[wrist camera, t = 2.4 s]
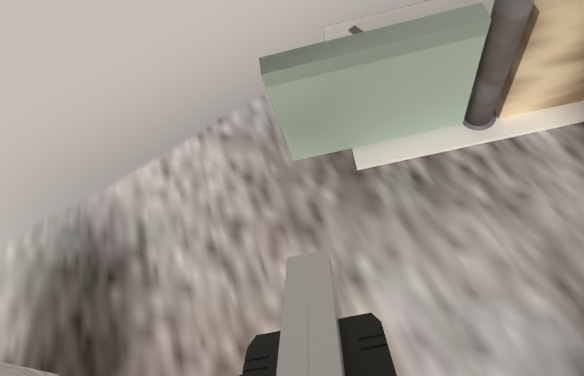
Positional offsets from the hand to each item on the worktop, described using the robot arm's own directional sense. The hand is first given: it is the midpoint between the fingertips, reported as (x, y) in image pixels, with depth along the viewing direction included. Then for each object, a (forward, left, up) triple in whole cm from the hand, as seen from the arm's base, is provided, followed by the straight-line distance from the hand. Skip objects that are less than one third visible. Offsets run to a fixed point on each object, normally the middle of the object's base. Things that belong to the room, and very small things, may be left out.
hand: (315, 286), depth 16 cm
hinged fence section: (-5, -13, -10) cm, 17 cm away
